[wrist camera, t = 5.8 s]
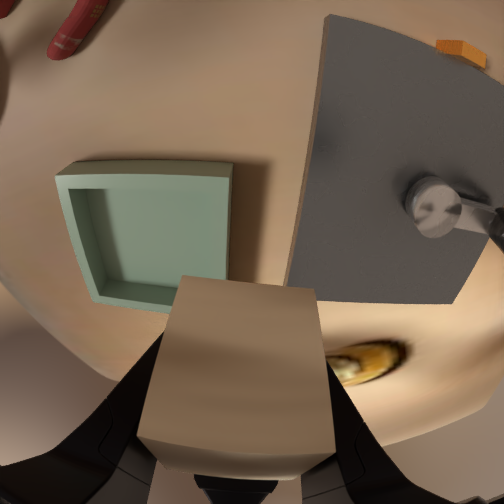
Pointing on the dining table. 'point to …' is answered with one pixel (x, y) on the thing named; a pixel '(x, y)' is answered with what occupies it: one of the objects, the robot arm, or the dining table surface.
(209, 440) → the block
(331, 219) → the base
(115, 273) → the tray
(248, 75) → the dining table surface
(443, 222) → the crank
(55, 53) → the pliers
